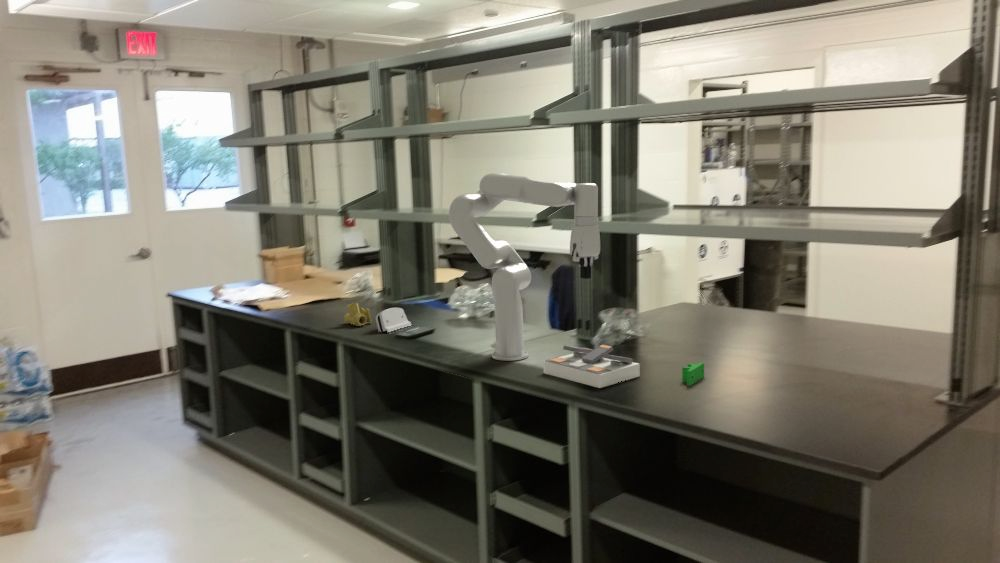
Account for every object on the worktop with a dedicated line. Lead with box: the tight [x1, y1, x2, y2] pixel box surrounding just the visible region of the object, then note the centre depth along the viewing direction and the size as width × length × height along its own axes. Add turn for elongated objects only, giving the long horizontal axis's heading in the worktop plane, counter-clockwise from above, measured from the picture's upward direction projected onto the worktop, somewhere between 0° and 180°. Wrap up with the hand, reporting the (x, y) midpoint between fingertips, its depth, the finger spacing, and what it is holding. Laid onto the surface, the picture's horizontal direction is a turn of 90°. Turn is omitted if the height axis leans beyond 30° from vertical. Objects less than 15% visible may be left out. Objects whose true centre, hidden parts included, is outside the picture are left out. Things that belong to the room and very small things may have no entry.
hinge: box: [375, 307, 412, 333], centre depth 317 cm, size 17×5×10 cm, turn 151°
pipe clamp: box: [681, 362, 705, 386], centre depth 229 cm, size 11×4×5 cm, turn 145°
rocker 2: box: [581, 344, 614, 364], centre depth 239 cm, size 4×10×1 cm, turn 130°
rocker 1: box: [562, 345, 594, 353], centre depth 245 cm, size 4×10×1 cm, turn 130°
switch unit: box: [543, 352, 641, 389], centre depth 238 cm, size 24×18×5 cm
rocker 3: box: [600, 353, 634, 363], centre depth 233 cm, size 4×10×1 cm, turn 130°
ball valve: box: [343, 302, 373, 326], centre depth 329 cm, size 13×10×10 cm
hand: (585, 278), depth 248 cm, fingers closed
